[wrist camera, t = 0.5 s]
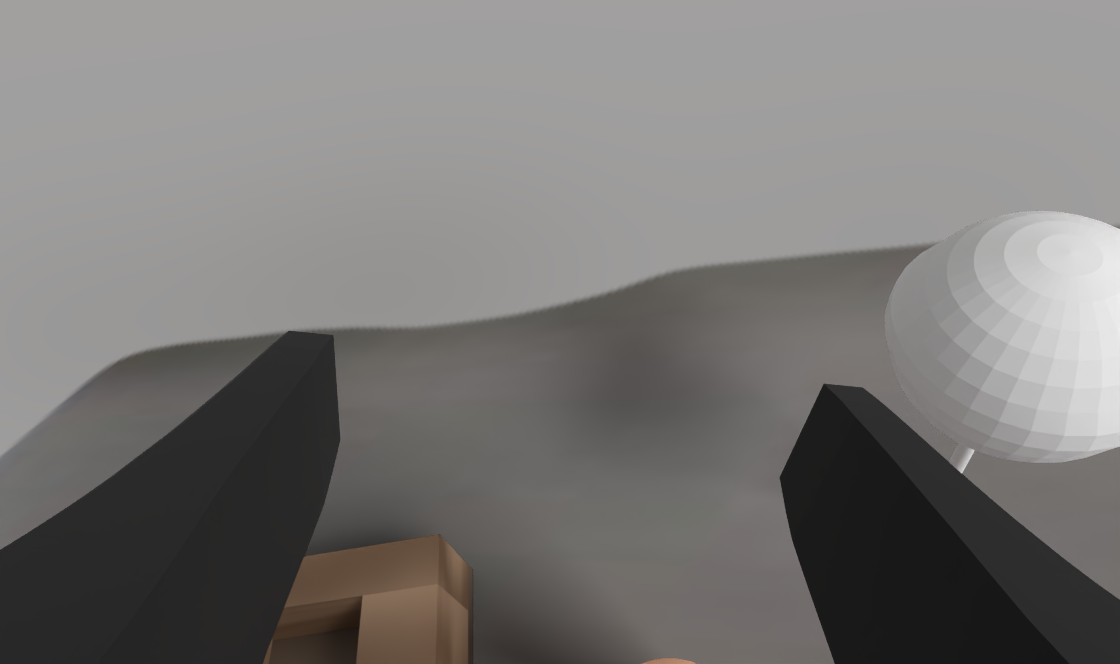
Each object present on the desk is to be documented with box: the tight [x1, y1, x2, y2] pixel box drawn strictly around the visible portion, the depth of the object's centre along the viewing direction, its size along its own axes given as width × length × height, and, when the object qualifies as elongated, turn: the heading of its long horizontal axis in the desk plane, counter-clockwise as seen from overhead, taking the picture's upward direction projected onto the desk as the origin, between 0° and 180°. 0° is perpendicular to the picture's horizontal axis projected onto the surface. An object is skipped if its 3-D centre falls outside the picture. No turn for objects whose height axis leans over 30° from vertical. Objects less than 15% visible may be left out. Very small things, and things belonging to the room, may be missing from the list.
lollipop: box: [885, 211, 1120, 473], centre depth 20 cm, size 6×6×15 cm
